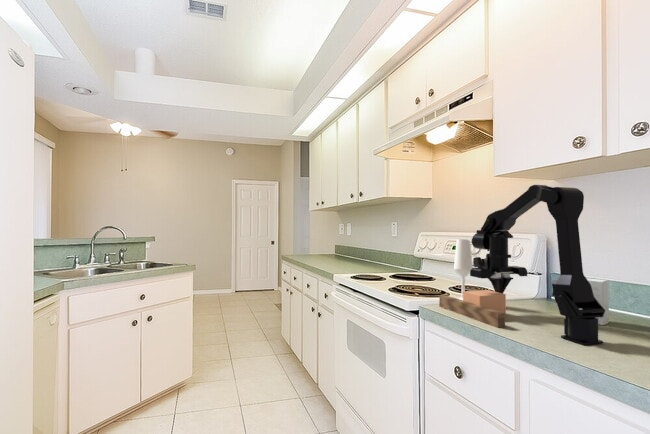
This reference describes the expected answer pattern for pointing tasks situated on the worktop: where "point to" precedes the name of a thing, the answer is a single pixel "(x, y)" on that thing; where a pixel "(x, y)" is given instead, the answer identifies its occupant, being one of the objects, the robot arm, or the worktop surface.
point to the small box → (601, 297)
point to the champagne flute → (463, 260)
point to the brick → (486, 299)
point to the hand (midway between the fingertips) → (498, 297)
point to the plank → (473, 311)
